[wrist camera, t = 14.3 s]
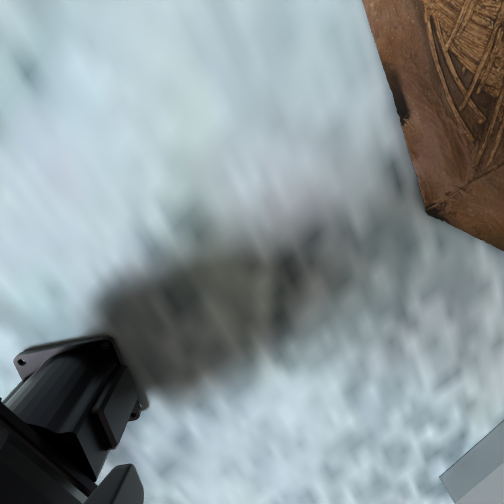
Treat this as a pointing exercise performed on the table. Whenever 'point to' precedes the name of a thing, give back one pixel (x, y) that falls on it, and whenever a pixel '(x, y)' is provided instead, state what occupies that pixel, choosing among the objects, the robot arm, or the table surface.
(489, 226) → the wooden fragment
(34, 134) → the table surface
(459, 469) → the slate ledge
